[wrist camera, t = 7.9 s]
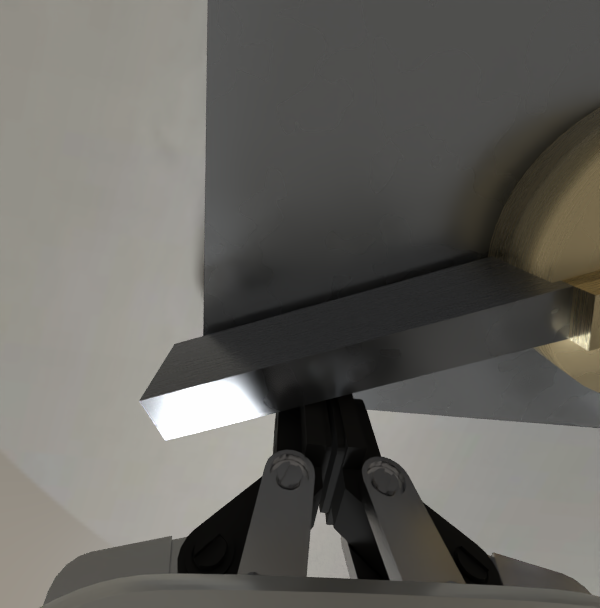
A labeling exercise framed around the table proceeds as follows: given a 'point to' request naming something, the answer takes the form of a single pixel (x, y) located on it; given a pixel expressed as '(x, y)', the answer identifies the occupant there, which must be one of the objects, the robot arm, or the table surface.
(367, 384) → the gold disc with handle
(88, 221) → the table surface
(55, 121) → the table surface
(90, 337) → the table surface
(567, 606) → the robot arm
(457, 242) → the base plate
